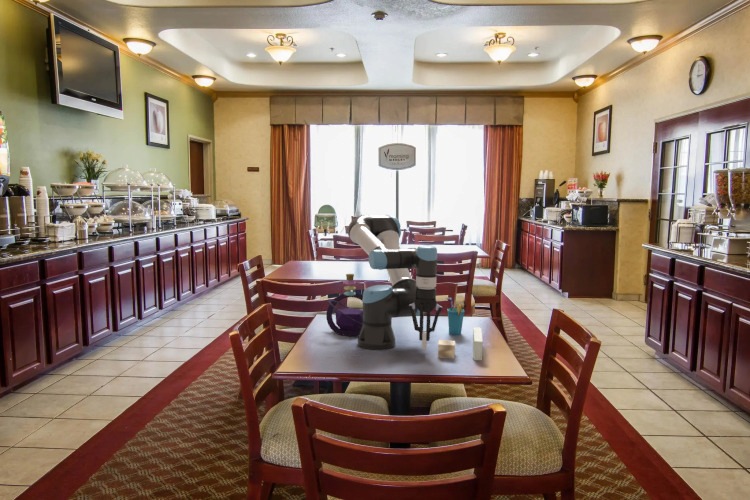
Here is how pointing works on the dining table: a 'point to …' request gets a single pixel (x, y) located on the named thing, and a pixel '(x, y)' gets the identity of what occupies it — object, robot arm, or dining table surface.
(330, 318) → the decorative bottle
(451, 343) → the birch block
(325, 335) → the dining table surface
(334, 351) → the dining table surface
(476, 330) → the board
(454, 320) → the cup
